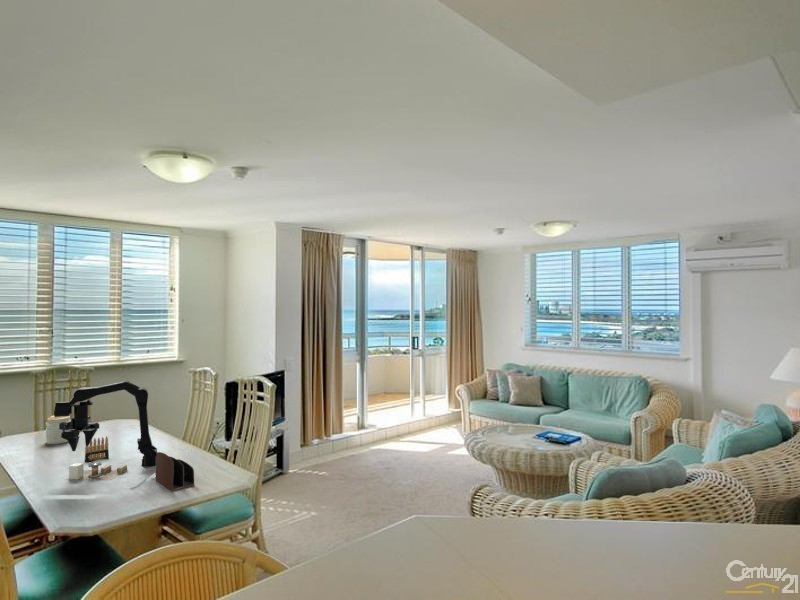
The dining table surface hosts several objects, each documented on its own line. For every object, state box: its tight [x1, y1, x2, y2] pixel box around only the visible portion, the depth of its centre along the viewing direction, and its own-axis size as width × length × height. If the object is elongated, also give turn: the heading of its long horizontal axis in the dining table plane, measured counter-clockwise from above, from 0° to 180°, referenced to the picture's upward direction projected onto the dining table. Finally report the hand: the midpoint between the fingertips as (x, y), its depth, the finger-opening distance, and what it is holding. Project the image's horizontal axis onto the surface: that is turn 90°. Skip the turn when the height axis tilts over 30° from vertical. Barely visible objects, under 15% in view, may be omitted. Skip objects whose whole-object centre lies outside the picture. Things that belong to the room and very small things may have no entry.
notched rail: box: [100, 464, 128, 475], centre depth 234 cm, size 10×5×2 cm, turn 90°
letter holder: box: [155, 451, 195, 492], centre depth 223 cm, size 10×20×14 cm, turn 45°
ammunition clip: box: [84, 436, 110, 464], centre depth 257 cm, size 11×2×12 cm, turn 131°
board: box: [65, 469, 121, 481], centre depth 230 cm, size 21×14×2 cm, turn 90°
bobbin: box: [87, 461, 102, 478], centre depth 229 cm, size 5×5×6 cm
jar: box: [45, 415, 72, 445], centre depth 295 cm, size 13×13×18 cm
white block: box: [68, 462, 85, 479], centre depth 227 cm, size 4×4×6 cm
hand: (80, 448), depth 231 cm, fingers open, 9 cm apart
